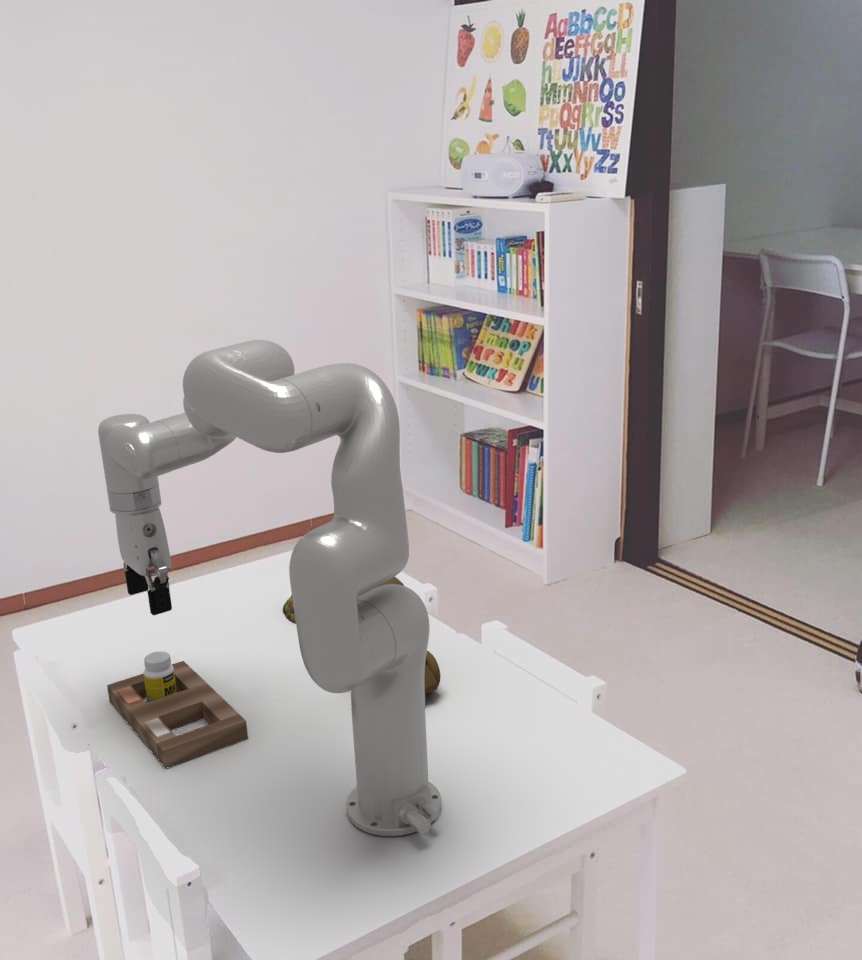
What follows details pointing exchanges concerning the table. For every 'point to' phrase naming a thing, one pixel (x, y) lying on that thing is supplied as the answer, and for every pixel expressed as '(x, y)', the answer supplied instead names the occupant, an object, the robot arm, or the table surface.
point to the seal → (289, 610)
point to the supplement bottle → (159, 676)
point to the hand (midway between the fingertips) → (149, 602)
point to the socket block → (178, 716)
